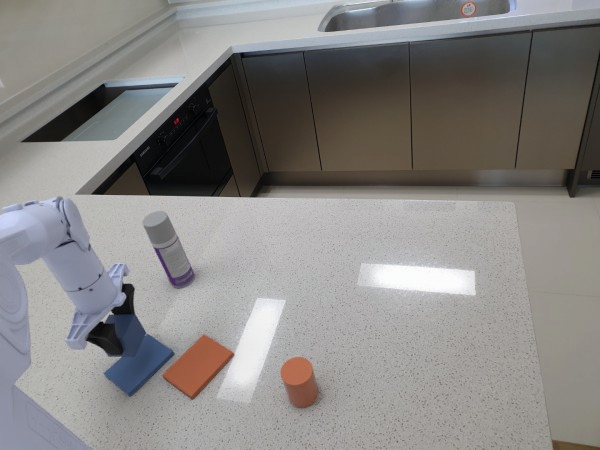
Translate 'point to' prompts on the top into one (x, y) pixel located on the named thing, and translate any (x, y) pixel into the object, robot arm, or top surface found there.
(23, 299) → the robot arm
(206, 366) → the terracotta mat
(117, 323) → the blue cube
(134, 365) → the blue mat
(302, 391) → the terracotta cylinder
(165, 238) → the container
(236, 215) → the top surface
